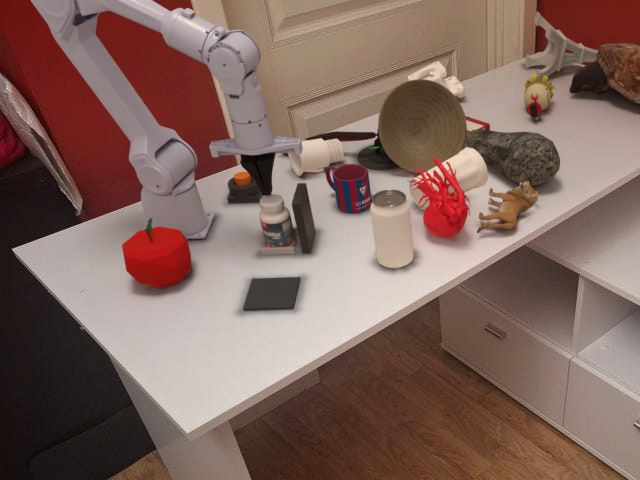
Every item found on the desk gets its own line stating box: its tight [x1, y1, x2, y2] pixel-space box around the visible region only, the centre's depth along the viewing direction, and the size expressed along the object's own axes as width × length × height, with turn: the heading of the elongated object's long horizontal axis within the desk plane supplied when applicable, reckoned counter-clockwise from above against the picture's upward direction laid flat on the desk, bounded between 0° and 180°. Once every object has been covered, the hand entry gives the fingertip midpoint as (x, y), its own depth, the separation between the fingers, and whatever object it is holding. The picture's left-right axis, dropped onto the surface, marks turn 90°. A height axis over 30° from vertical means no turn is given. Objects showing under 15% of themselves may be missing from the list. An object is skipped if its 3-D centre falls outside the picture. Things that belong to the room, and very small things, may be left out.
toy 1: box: [282, 131, 377, 156], centre depth 148 cm, size 2×22×5 cm
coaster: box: [242, 276, 301, 312], centre depth 115 cm, size 8×8×1 cm
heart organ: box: [408, 158, 471, 239], centre depth 124 cm, size 10×12×12 cm
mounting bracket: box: [407, 60, 466, 99], centre depth 171 cm, size 12×6×11 cm
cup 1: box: [324, 163, 372, 214], centre depth 134 cm, size 7×10×7 cm
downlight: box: [288, 138, 345, 177], centre depth 144 cm, size 8×7×10 cm
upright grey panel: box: [259, 182, 316, 256], centre depth 122 cm, size 9×7×10 cm
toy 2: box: [523, 74, 555, 121], centre depth 163 cm, size 7×7×15 cm
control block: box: [226, 175, 263, 204], centre depth 137 cm, size 6×6×3 cm
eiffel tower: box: [524, 11, 599, 81], centre depth 182 cm, size 13×13×30 cm
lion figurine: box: [476, 181, 539, 234], centre depth 129 cm, size 15×5×9 cm
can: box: [370, 188, 415, 270], centre depth 118 cm, size 6×6×12 cm
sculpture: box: [568, 42, 640, 104], centre depth 165 cm, size 16×17×25 cm
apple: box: [121, 217, 192, 289], centre depth 115 cm, size 11×11×10 cm
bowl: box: [377, 78, 467, 174], centre depth 145 cm, size 18×18×8 cm
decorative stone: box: [466, 129, 561, 187], centre depth 140 cm, size 22×10×10 cm
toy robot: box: [356, 130, 401, 171], centre depth 145 cm, size 12×12×12 cm
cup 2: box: [408, 147, 489, 211], centre depth 134 cm, size 8×8×14 cm
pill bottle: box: [258, 193, 297, 248], centre depth 123 cm, size 5×5×9 cm
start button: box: [233, 171, 252, 186], centre depth 136 cm, size 3×3×2 cm
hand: (267, 192), depth 120 cm, fingers closed
